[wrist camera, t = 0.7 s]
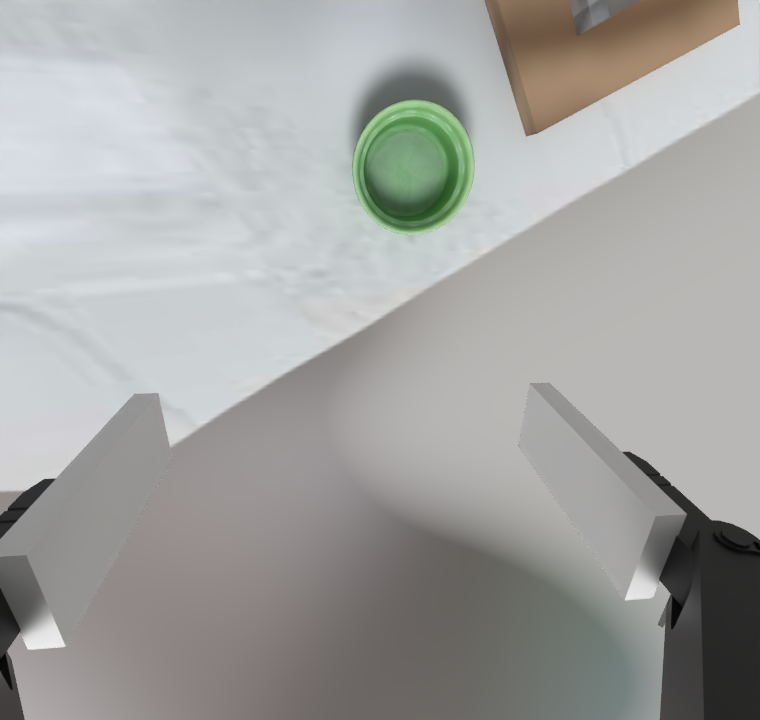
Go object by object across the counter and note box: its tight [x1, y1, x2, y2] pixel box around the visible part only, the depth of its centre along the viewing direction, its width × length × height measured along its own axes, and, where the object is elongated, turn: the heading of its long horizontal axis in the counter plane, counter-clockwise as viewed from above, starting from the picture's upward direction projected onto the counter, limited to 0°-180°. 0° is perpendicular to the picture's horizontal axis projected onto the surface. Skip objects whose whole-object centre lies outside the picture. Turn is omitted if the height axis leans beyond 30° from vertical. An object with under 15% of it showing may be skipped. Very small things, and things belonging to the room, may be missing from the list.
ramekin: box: [352, 99, 474, 235], centre depth 32 cm, size 9×9×4 cm
